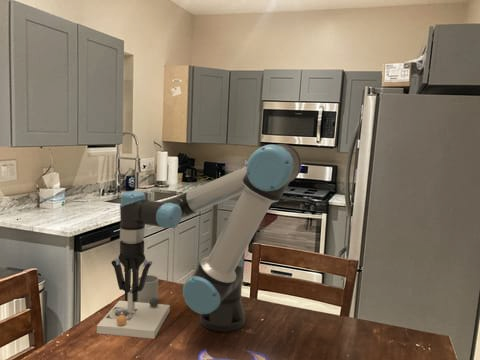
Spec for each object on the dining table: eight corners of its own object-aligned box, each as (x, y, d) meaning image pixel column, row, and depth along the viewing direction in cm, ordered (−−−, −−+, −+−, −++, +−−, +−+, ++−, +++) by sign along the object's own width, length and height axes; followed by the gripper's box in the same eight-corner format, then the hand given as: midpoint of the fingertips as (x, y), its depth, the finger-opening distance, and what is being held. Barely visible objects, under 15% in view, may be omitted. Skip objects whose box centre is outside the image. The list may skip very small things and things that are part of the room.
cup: (153, 307, 143) (154, 283, 142) (126, 304, 145) (127, 280, 143) (160, 299, 150) (161, 276, 149) (135, 296, 152) (135, 273, 150)
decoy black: (159, 304, 140) (159, 296, 140) (156, 308, 137) (157, 300, 137) (150, 304, 140) (151, 295, 140) (148, 307, 137) (148, 299, 137)
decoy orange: (128, 322, 127) (128, 313, 126) (124, 327, 124) (124, 318, 123) (118, 321, 127) (118, 312, 126) (114, 326, 124) (115, 317, 124)
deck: (169, 311, 141) (169, 305, 140) (154, 338, 123) (154, 330, 122) (119, 307, 142) (119, 300, 142) (96, 333, 124) (96, 325, 124)
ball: (117, 312, 134) (124, 319, 135) (112, 318, 131) (120, 325, 131) (123, 306, 134) (131, 313, 134) (119, 311, 130) (127, 319, 130)
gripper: (155, 238, 132) (154, 306, 135) (116, 235, 133) (116, 303, 136) (148, 245, 125) (147, 317, 128) (107, 242, 126) (107, 313, 129)
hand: (131, 310), depth 132 cm, fingers closed
